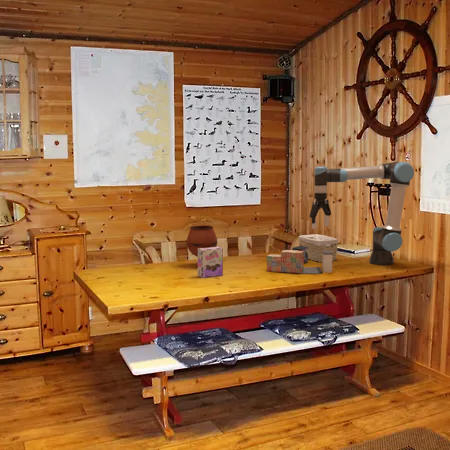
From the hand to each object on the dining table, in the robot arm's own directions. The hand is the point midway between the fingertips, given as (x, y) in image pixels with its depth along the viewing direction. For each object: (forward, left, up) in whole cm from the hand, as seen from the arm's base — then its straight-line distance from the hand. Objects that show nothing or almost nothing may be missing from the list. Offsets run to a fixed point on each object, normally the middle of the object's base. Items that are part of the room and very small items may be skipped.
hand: (320, 227), depth 349 cm
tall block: (-3, +8, -25) cm, 27 cm away
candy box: (+66, +22, -26) cm, 74 cm away
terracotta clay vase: (+73, -6, -25) cm, 77 cm away
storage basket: (-2, -31, -26) cm, 40 cm away
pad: (+7, +8, -25) cm, 27 cm away
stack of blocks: (+22, +10, -25) cm, 35 cm away
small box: (+11, -16, -26) cm, 32 cm away
